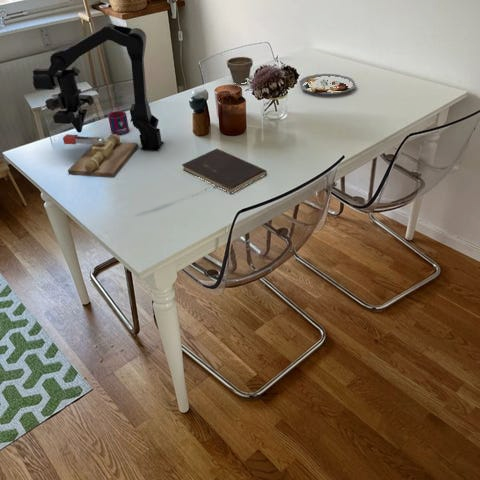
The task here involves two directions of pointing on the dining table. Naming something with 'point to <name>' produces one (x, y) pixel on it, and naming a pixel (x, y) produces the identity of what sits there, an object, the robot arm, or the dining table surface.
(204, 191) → the butter knife
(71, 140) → the lever
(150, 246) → the dining table surface
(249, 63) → the flower pot
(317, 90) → the food plate
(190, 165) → the hardcover book
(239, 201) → the dining table surface
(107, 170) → the valve board
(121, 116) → the mug
